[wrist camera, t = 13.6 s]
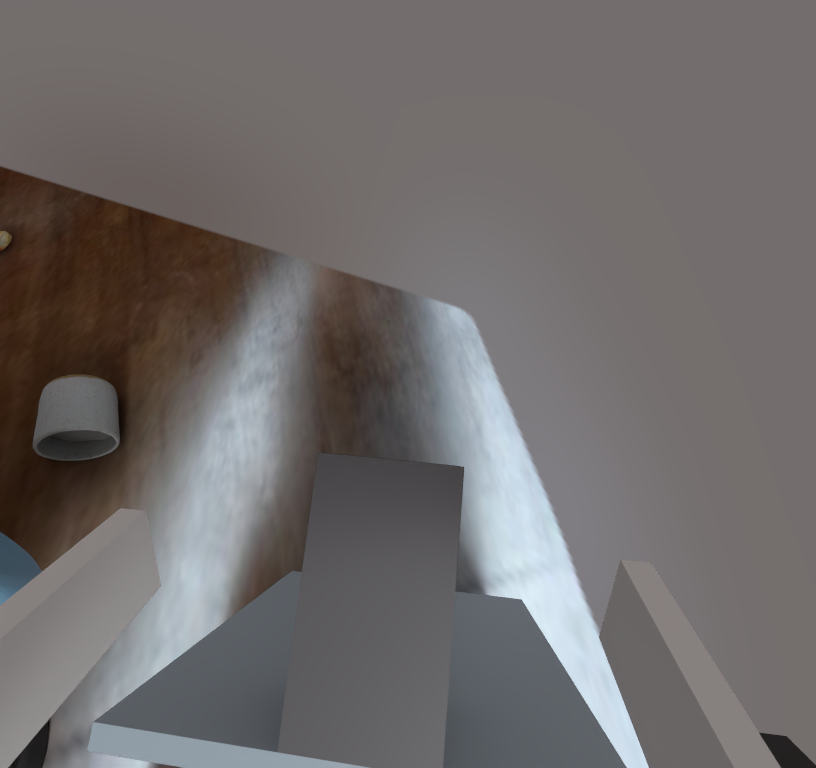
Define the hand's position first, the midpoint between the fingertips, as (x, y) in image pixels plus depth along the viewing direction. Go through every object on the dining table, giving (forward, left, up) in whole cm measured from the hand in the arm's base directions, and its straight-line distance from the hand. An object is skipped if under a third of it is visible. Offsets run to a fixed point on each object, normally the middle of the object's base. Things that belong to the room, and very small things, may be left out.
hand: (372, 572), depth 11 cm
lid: (+1, -4, -12) cm, 13 cm away
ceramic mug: (-43, +1, -34) cm, 55 cm away
